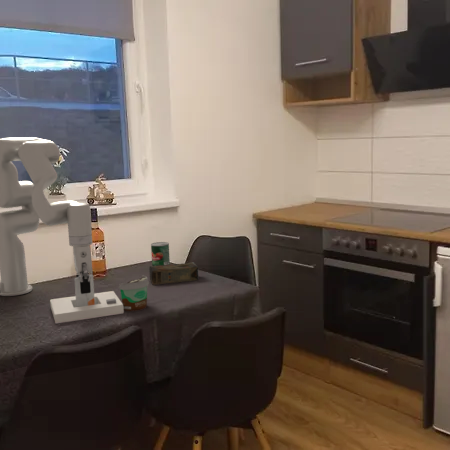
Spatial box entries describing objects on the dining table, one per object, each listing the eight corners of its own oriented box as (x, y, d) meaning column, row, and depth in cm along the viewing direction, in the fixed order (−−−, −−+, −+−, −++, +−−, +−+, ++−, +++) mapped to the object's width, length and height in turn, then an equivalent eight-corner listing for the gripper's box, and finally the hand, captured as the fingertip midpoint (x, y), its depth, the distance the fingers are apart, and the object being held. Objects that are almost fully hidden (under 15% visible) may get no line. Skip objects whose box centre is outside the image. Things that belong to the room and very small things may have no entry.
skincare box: (88, 313, 185) (85, 278, 183) (76, 313, 186) (73, 278, 184) (95, 307, 191) (93, 274, 189) (84, 307, 192) (81, 274, 190)
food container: (134, 314, 182) (132, 285, 181) (120, 312, 185) (118, 283, 184) (157, 304, 192) (156, 276, 191) (144, 302, 196) (142, 274, 194)
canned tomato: (149, 270, 241) (148, 245, 240) (155, 265, 249) (153, 241, 247) (167, 270, 240) (166, 245, 238) (172, 265, 248) (170, 241, 246)
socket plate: (55, 323, 176) (54, 311, 175) (50, 307, 193) (49, 296, 192) (123, 313, 184) (123, 301, 183) (113, 298, 201) (112, 288, 200)
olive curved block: (199, 280, 222) (198, 264, 221) (152, 286, 217) (151, 270, 216) (194, 276, 230) (193, 260, 229) (148, 281, 224) (148, 265, 223)
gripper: (96, 244, 178) (99, 294, 181) (88, 234, 194) (91, 281, 197) (72, 246, 175) (75, 297, 178) (66, 236, 191) (69, 283, 194)
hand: (83, 289), depth 187 cm, fingers open, 9 cm apart
